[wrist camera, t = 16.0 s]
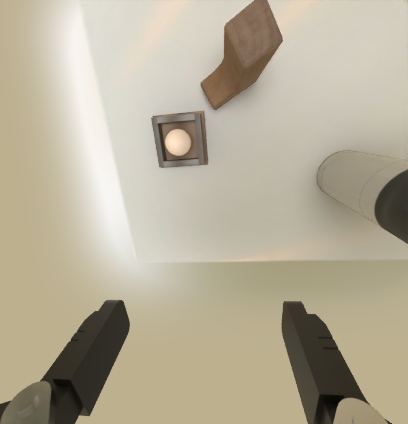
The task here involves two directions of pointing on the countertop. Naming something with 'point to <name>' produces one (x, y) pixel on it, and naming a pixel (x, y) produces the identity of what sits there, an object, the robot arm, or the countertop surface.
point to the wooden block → (243, 52)
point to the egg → (178, 142)
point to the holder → (193, 126)
